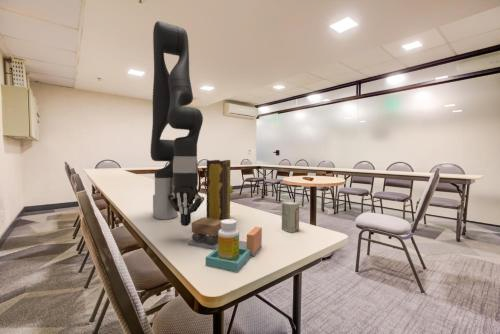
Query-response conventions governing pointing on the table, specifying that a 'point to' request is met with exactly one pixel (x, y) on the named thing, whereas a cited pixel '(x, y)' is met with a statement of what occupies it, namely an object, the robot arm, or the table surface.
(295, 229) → the skincare box
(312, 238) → the table surface
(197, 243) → the rail
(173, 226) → the table surface
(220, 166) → the book
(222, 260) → the cradle
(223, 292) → the table surface
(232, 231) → the supplement bottle
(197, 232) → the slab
